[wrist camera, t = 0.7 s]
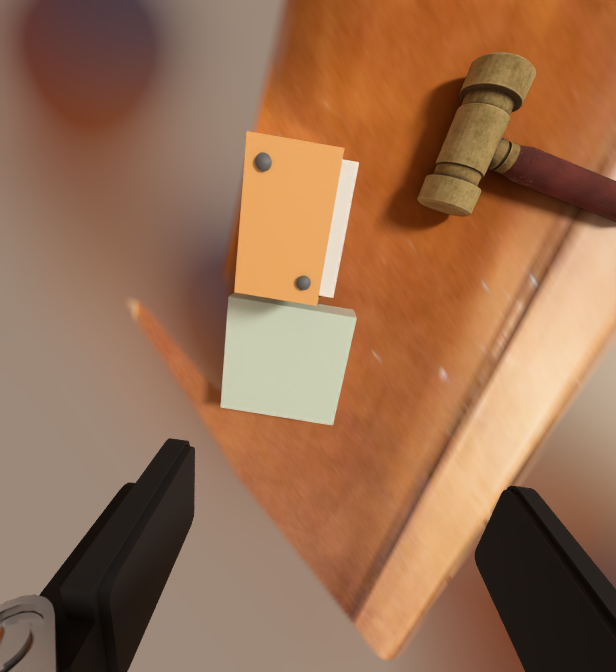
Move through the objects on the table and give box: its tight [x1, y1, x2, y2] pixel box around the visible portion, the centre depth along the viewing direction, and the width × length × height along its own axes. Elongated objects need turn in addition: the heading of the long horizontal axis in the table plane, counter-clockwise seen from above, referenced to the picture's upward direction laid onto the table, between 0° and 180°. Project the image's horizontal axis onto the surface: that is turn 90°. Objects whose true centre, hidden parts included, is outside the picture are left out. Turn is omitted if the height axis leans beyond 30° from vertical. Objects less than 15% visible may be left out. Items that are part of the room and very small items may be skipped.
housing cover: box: [234, 131, 344, 306], centre depth 22 cm, size 10×6×3 cm, turn 171°
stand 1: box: [221, 292, 357, 425], centre depth 32 cm, size 12×12×3 cm
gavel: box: [417, 52, 616, 221], centre depth 26 cm, size 21×5×10 cm
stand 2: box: [319, 159, 359, 298], centre depth 27 cm, size 11×9×3 cm
